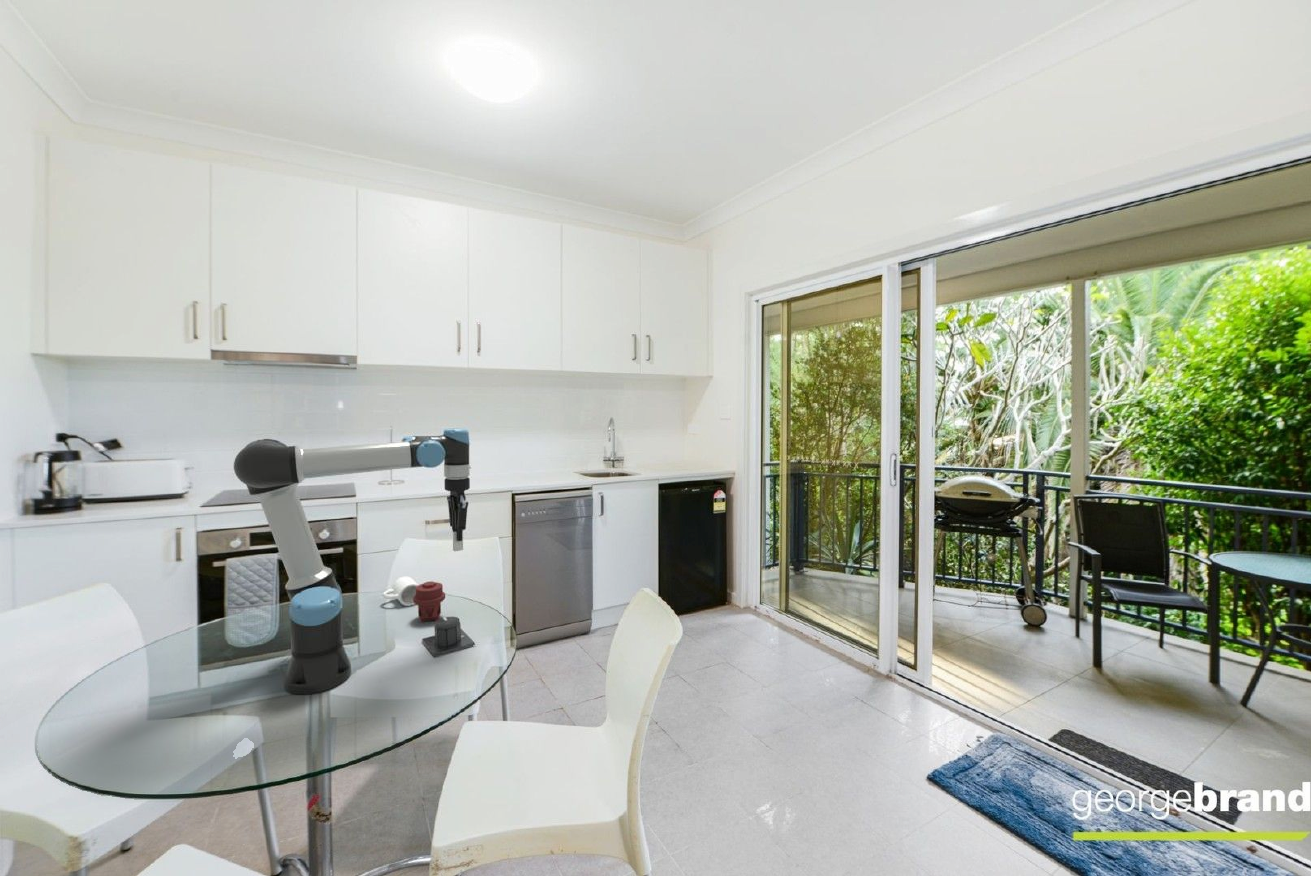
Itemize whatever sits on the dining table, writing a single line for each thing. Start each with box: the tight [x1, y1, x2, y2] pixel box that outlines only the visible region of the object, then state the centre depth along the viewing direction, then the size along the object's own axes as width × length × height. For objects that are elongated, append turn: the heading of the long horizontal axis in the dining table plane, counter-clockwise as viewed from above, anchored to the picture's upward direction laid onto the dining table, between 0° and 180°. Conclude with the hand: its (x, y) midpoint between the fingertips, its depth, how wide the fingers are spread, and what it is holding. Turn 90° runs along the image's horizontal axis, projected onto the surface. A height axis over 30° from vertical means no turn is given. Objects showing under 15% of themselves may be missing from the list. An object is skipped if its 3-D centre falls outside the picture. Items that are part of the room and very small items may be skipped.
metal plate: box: [421, 628, 476, 658], centre depth 165 cm, size 12×12×5 cm
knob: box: [434, 616, 462, 646], centre depth 165 cm, size 7×7×6 cm
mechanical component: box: [413, 581, 446, 623], centre depth 183 cm, size 12×10×10 cm
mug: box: [382, 576, 419, 607], centre depth 196 cm, size 12×10×8 cm
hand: (458, 550), depth 173 cm, fingers closed
